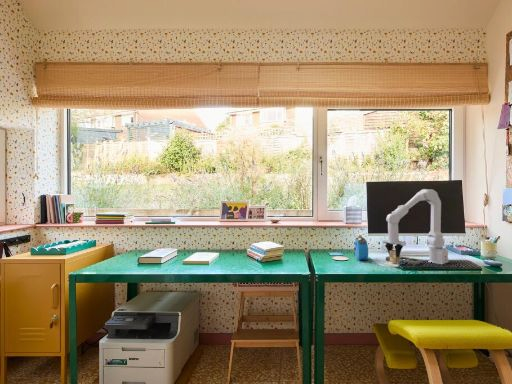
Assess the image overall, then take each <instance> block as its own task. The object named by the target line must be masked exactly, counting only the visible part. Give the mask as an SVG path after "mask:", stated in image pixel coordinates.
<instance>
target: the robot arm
mask: <svg viewBox="0 0 512 384" xmlns="http://www.w3.org/2000/svg"><path fill="white" fill-rule="evenodd" d="M422 201H423V202H424V201H426V202H427V203H428V204H429V205H430V231H429V232H428V236H427V238H426V242H427V244H428V251H429V252H428V253H429V260H427V261H428V262H427V263H431V262H432V264H437V265H444V264H447V263H449V262H450V261H449V251H448V249H447V248H444V246H445V244H446V243H445V239H444V235H443V233H442V232H441V231H442V228H441V223H442V220H441V218H442V201H441V199H440V197H439V194H438V192H437V191H435V189H432V188H431V189H428V188H427V189H426V188H422V189H420V191H418V192H416V194H415V195H414V196H413V197H412V198H410V200H408V201H407V202H406V203H405V204H401V205H398V206H397V208H396V209H394V211H391V213H389V214H387V215H386V218H385V220H386V222H387V235H388V239H382V244H384V247H385V248H386V250H387V252H388V255H389V256H390V252H389V251H390V250H396V257H400V256H401V252H402V250H403V247H405V246H407V245H406V244H407V243H406V241H400V239H399V223H400V220H401V219H402V218H403V217H405V215H407V214H408V213H409V209H411V208H412V207H413V206H415V205H416V204H418V203H419V202H422ZM393 248H394V249H393ZM389 256H388V257H389Z"/></svg>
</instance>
